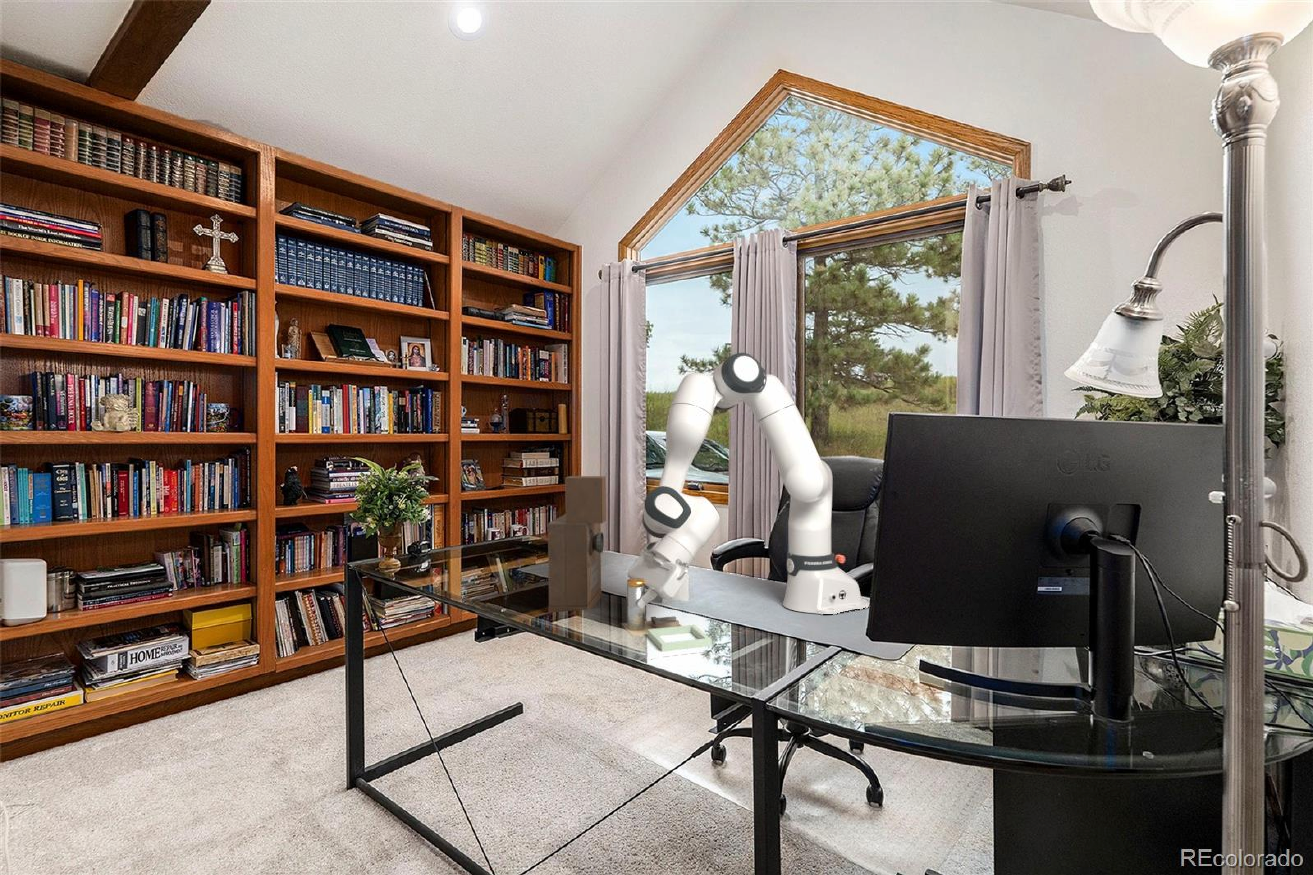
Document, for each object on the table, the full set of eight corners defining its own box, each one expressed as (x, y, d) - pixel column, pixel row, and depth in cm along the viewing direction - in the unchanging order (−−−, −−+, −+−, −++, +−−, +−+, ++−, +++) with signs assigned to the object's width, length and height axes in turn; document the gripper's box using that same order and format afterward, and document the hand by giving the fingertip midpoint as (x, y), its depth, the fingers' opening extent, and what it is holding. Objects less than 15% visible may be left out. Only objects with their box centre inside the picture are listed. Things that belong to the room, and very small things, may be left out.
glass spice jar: (642, 625, 155) (642, 577, 155) (647, 630, 151) (646, 581, 151) (626, 626, 154) (625, 578, 154) (630, 631, 150) (629, 582, 150)
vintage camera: (603, 614, 168) (601, 477, 168) (548, 613, 170) (546, 478, 169) (615, 596, 187) (613, 472, 187) (566, 595, 189) (564, 473, 188)
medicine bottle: (689, 598, 184) (689, 555, 183) (688, 605, 177) (688, 560, 176) (664, 598, 184) (663, 555, 184) (662, 605, 177) (661, 560, 177)
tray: (694, 636, 150) (694, 624, 150) (711, 651, 140) (711, 639, 140) (647, 641, 147) (647, 629, 147) (662, 657, 136) (662, 644, 136)
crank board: (673, 623, 160) (673, 611, 160) (686, 635, 151) (686, 622, 151) (621, 628, 157) (620, 615, 156) (631, 641, 147) (631, 627, 147)
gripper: (700, 573, 148) (661, 623, 144) (661, 558, 166) (626, 602, 162) (682, 555, 146) (642, 605, 142) (645, 542, 164) (609, 585, 160)
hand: (633, 603), depth 152 cm, fingers closed on glass spice jar, 4 cm apart
